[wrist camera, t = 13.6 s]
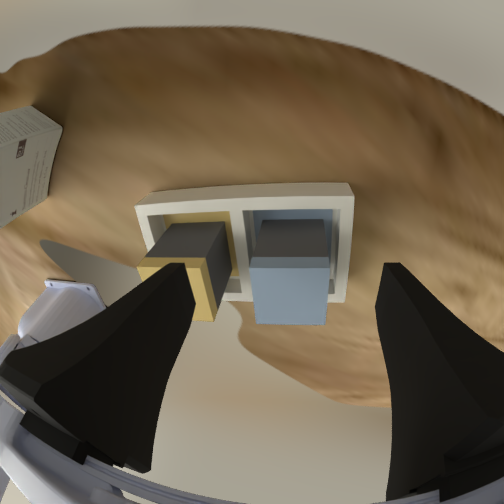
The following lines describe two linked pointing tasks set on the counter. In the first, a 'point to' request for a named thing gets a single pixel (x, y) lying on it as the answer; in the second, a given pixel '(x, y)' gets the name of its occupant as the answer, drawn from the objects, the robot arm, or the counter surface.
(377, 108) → the counter surface
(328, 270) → the blue plug
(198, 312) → the ochre plug
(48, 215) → the counter surface
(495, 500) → the robot arm
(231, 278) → the rack
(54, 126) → the skincare box
